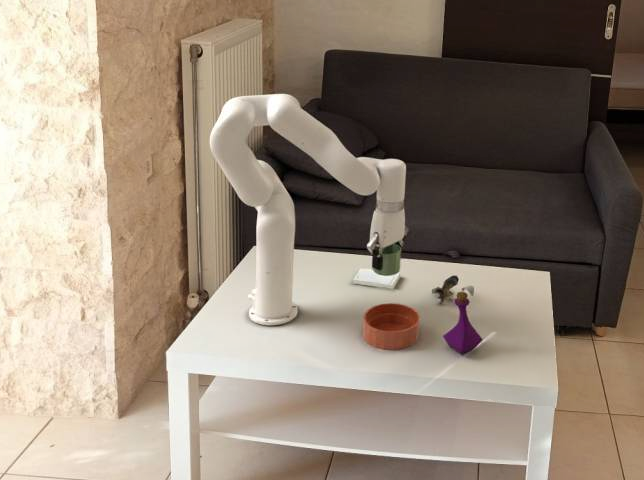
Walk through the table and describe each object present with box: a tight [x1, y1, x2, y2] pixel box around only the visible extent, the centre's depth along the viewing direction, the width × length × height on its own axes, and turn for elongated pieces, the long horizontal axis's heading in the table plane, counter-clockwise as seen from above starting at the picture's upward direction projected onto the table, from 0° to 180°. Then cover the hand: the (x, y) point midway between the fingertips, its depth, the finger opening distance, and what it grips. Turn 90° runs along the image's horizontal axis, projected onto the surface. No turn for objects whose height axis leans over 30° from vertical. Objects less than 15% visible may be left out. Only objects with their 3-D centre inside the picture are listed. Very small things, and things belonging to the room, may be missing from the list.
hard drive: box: [352, 267, 401, 289], centre depth 221 cm, size 2×8×12 cm
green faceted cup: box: [371, 243, 403, 276], centre depth 203 cm, size 8×8×6 cm
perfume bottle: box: [442, 285, 484, 356], centre depth 187 cm, size 8×8×18 cm
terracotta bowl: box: [362, 302, 421, 351], centre depth 191 cm, size 15×15×6 cm
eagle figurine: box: [431, 275, 460, 306], centre depth 214 cm, size 8×7×9 cm
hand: (386, 263), depth 203 cm, fingers closed on green faceted cup, 7 cm apart
